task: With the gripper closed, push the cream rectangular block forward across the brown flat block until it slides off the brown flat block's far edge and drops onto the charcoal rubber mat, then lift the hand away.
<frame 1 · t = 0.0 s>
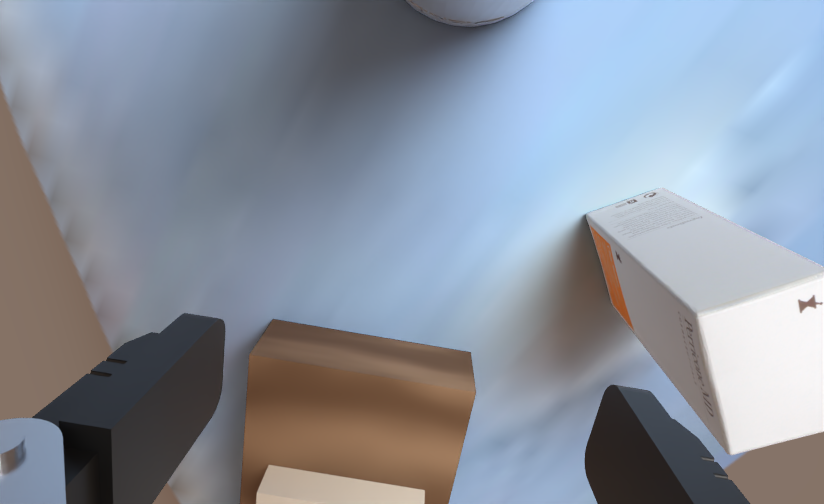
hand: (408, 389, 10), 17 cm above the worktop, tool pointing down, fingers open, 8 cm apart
skincare box: (632, 248, 27), on the worktop
brown flat block: (355, 442, 32), on the worktop
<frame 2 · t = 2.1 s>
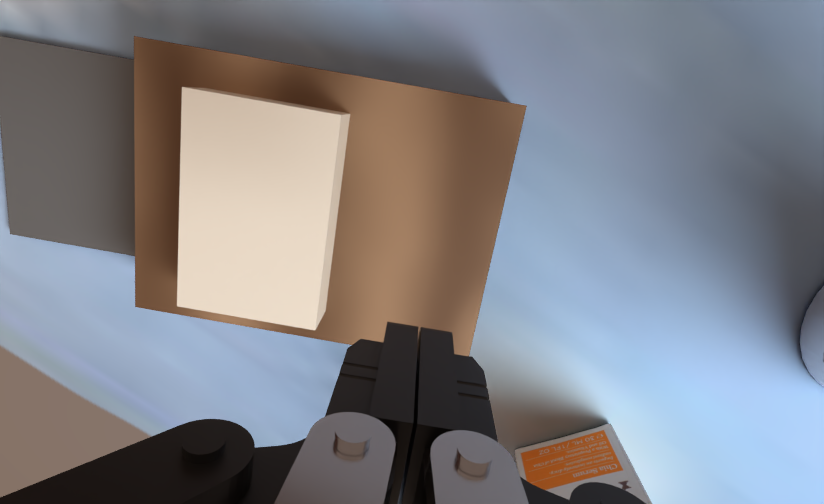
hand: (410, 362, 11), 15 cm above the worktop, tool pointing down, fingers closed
mat: (89, 154, 25), on the worktop
skincare box: (567, 459, 30), on the worktop
brown flat block: (333, 197, 25), on the worktop
cream rectangular block: (269, 206, 21), point 4 cm above the worktop, touching brown flat block
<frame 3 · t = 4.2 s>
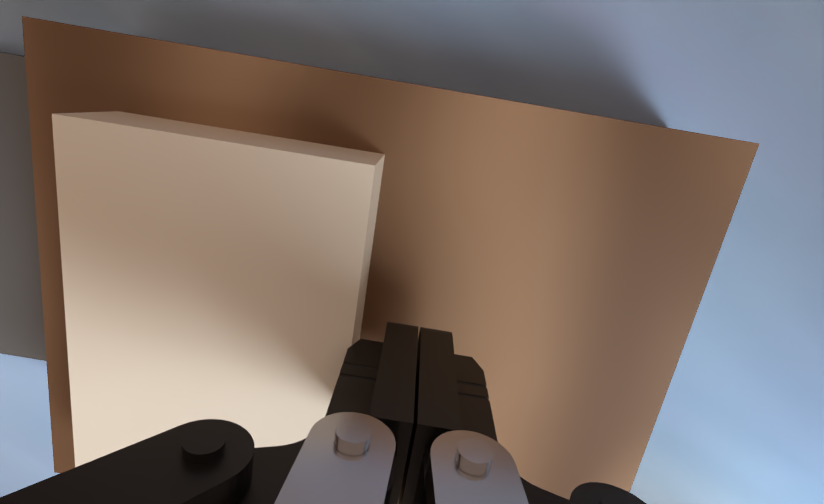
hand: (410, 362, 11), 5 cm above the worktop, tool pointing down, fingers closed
brown flat block: (375, 275, 16), on the worktop
cream rectangular block: (242, 314, 12), point 4 cm above the worktop, touching brown flat block, gripper
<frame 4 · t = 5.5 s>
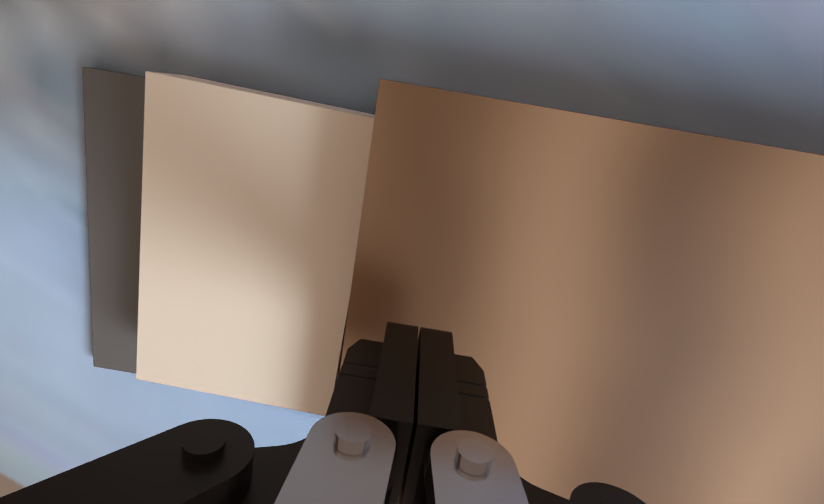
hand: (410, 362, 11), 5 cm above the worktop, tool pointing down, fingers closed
mat: (224, 249, 16), on the worktop
brown flat block: (603, 313, 16), on the worktop
cream rectangular block: (269, 241, 16), resting on mat
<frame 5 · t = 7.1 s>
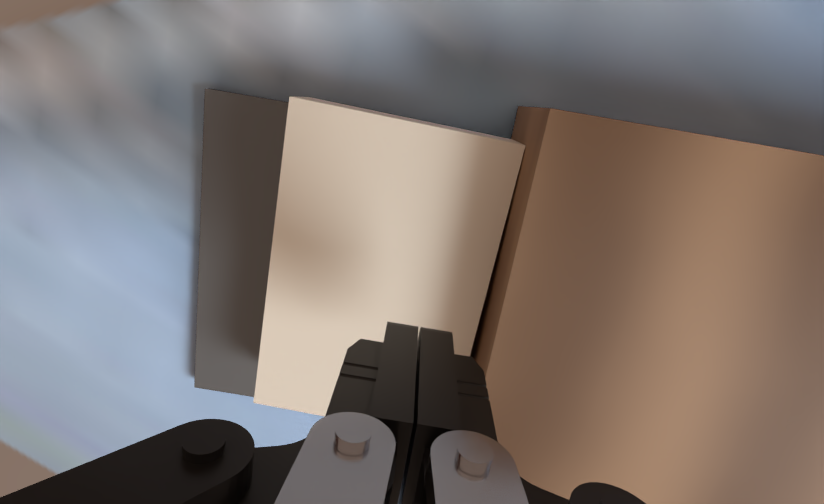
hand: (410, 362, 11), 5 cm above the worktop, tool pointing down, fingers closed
mat: (333, 270, 16), on the worktop
brown flat block: (714, 334, 16), on the worktop
cream rectangular block: (383, 263, 15), resting on mat
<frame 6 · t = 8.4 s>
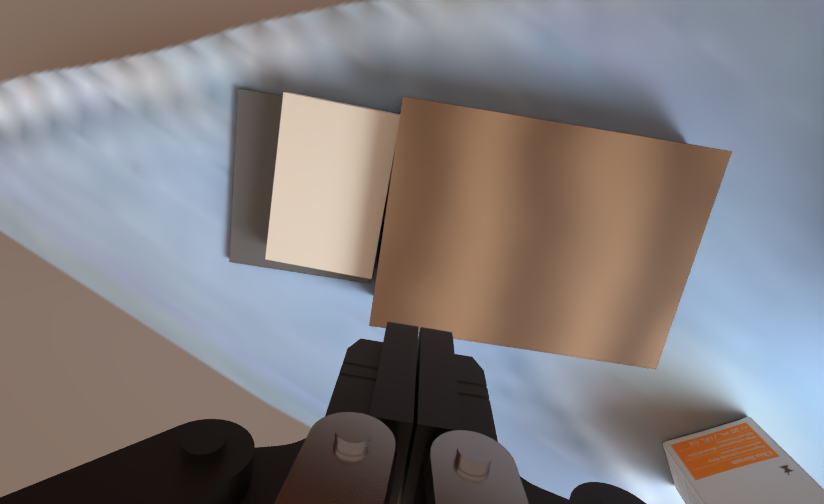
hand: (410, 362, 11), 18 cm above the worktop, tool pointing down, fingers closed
mat: (308, 190, 28), on the worktop
skincare box: (707, 449, 33), on the worktop
brown flat block: (523, 224, 29), on the worktop
cream rectangular block: (336, 184, 28), resting on mat
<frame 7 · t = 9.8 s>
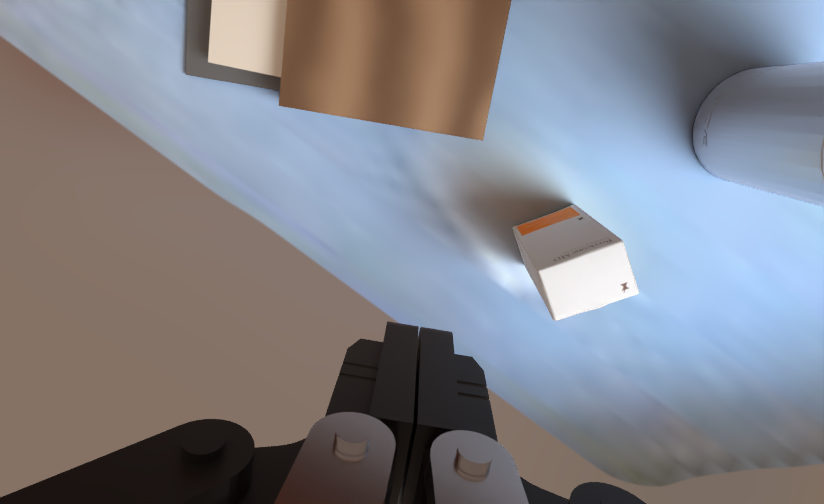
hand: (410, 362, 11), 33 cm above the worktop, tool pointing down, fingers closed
mat: (241, 19, 40), on the worktop
skincare box: (547, 235, 44), on the worktop
brown flat block: (396, 46, 40), on the worktop
cream rectangular block: (259, 12, 39), resting on mat
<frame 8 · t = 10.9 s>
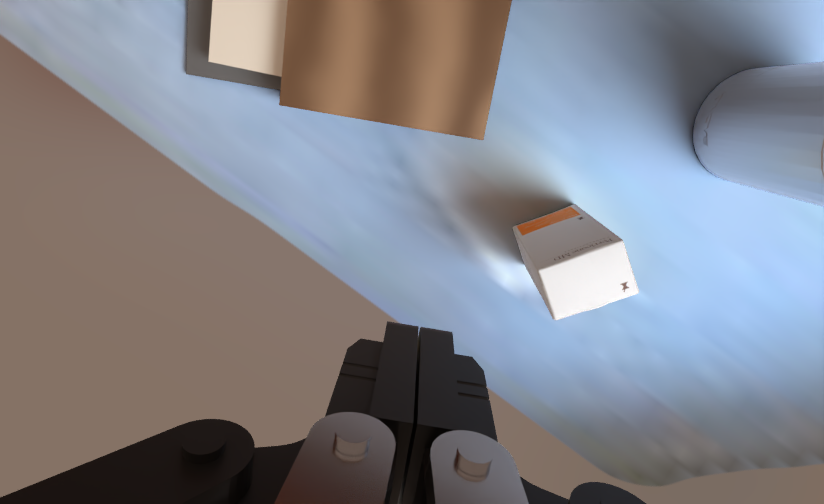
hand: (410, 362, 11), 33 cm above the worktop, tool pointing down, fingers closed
mat: (242, 18, 40), on the worktop
skincare box: (547, 234, 44), on the worktop
brown flat block: (396, 45, 40), on the worktop
cream rectangular block: (260, 12, 39), resting on mat
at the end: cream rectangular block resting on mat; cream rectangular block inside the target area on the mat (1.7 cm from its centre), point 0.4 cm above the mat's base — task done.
